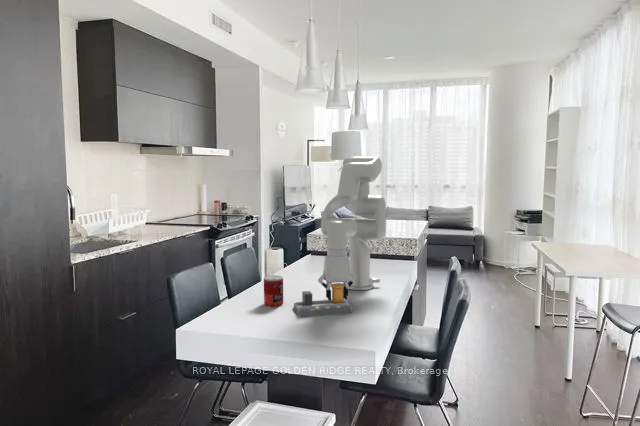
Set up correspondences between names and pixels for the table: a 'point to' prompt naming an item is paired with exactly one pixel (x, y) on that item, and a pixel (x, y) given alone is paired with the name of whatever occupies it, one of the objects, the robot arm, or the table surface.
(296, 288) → the table surface
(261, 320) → the table surface
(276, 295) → the canned food
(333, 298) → the orange pill bottle
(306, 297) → the knob
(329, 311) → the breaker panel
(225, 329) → the table surface
